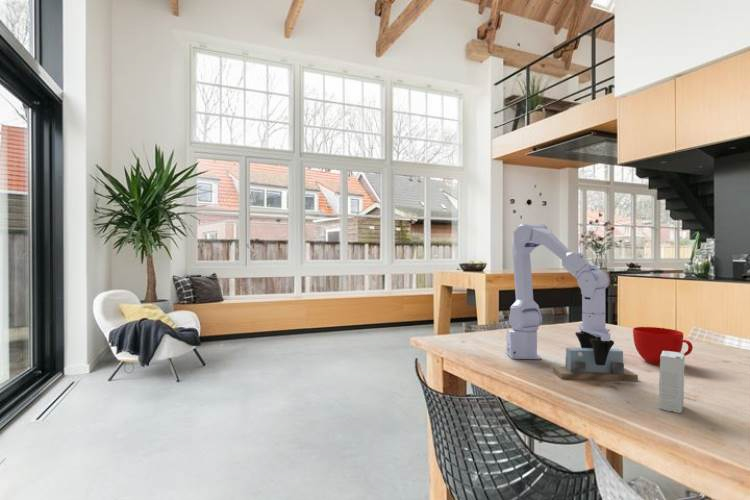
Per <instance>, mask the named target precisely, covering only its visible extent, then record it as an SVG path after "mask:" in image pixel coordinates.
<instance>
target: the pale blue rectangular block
mask: <svg viewBox="0 0 750 500" xmlns="http://www.w3.org/2000/svg"><path fill="white" fill-rule="evenodd" d="M573 362H585V363H586V372H600V373H611V363H624V351H623V350H621V349H619V348H613V347H611V349H610V351H609V353H608V356H607V360H606V363H605V365H596V363H595V358H594V351H593V348H581V347H566V348H565V367H566V369H567V370H569V371H570V372H573Z"/></svg>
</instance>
